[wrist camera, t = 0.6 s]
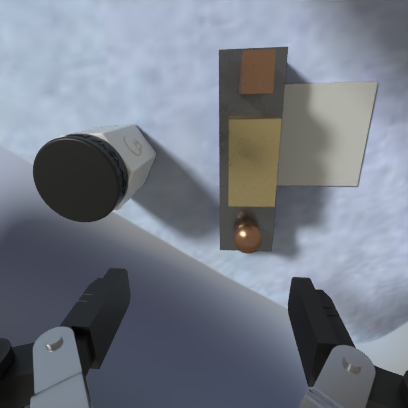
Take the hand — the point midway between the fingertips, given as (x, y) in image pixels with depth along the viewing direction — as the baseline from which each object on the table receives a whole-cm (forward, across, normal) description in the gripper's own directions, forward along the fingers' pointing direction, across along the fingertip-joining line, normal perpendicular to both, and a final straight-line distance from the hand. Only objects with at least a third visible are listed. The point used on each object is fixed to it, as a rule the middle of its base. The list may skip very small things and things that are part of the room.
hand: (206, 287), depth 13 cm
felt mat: (+23, -12, -4) cm, 27 cm away
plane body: (+23, -3, -1) cm, 24 cm away
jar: (+24, +13, -1) cm, 27 cm away
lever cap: (+18, -3, -2) cm, 19 cm away
